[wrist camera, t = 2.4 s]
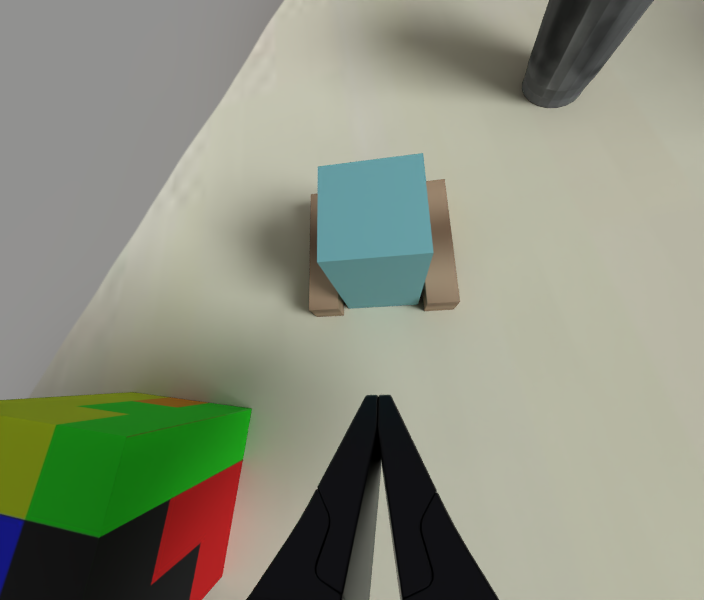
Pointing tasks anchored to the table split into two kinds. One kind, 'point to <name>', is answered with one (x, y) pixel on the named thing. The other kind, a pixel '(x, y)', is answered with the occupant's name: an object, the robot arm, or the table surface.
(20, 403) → the puzzle toy
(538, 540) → the table surface
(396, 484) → the robot arm
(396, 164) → the block
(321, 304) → the chute
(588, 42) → the beverage cup
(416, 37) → the table surface
